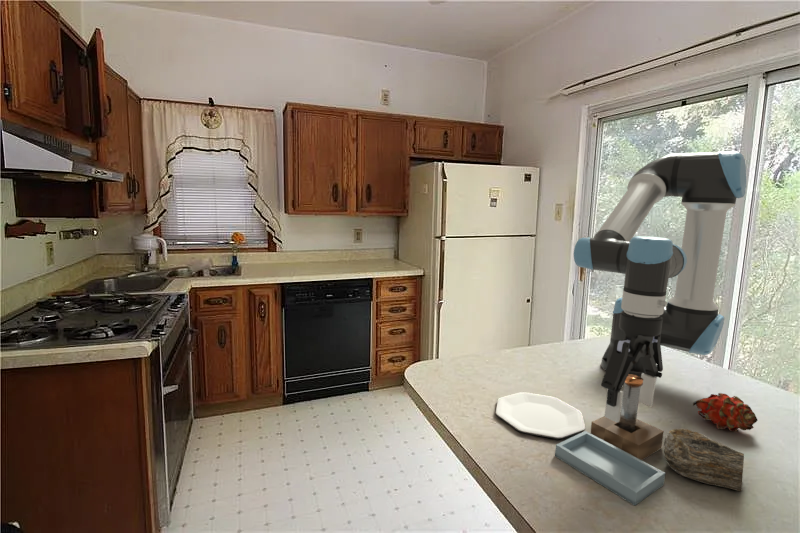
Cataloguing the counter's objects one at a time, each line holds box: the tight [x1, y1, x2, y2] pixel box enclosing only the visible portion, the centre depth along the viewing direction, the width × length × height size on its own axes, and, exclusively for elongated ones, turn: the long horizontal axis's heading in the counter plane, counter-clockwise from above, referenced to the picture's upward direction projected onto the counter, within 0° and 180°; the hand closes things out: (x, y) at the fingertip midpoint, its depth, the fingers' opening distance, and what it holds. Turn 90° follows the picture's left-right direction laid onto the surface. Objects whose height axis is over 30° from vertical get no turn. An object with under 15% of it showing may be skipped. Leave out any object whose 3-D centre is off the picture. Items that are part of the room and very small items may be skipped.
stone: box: [663, 428, 745, 492], centre depth 79 cm, size 14×10×10 cm
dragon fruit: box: [692, 392, 758, 432], centre depth 97 cm, size 8×8×12 cm
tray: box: [554, 430, 666, 506], centre depth 80 cm, size 16×10×2 cm, turn 33°
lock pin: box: [619, 374, 643, 433], centre depth 88 cm, size 4×4×15 cm
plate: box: [495, 391, 586, 440], centre depth 99 cm, size 20×20×2 cm
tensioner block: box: [589, 413, 665, 461], centre depth 89 cm, size 10×10×4 cm
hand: (629, 411), depth 88 cm, fingers open, 12 cm apart
